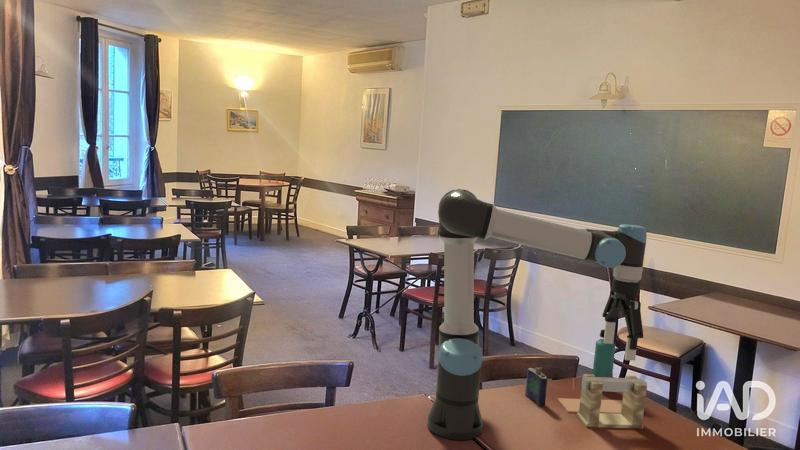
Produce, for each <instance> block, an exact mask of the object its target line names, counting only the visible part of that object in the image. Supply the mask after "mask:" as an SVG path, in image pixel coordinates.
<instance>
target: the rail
mask: <svg viewBox="0 0 800 450" xmlns="http://www.w3.org/2000/svg"><path fill="white" fill-rule="evenodd" d="M591 382H602V383H603V390H602V392H611V393H613V392H614V393H623V392H633V391H634V383H645V384H646V385H647V386H648V382H646V380H644V378H638V379H636V378H625V377H612V378H607V377H583V376H582V378H581V389H582V388H583V389H584V390H585V391H590V385H591Z"/></svg>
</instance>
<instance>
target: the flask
mask: <svg viewBox="0 0 800 450" xmlns="http://www.w3.org/2000/svg"><path fill="white" fill-rule="evenodd" d="M541 369H543V367H535V368H532V367H529V368H527V374H526V385H525V392H524V395H525V396H526V398H528V399H530V401H533V402H534V403H535V404H536V405H538V406H539V407H546V400H547V399H546V398H547V388H548V387H547V386H548V377H547V376H546V375H545V374H544V373H543V371H542V370H541Z"/></svg>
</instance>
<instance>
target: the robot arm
mask: <svg viewBox="0 0 800 450" xmlns="http://www.w3.org/2000/svg"><path fill="white" fill-rule="evenodd" d="M437 213H438V237H439V238H440V239H441V241H443V245H444V250H443V251H444V256H443V257H444V258H443V259H444V260H443V261H444V262H443V263H444V265H443V267H444V268H443V269H444V270H443V271H444V273H443V275H444V280H443V281H444V282H443V283H444V284H443V286H444V287H443V288H444V291H443V297H444V298H443V299H444V301H443V302H444V303H443V304H444V305H443V306H444V307H443V308H444V309H443V311H444V312H443V315H444V316H443V317H444V318H443V319H444V321H443V323H441V324H440V325H439V327H438V331H439V332H438V355H437V356H438V364H437V365H438V366H437V380H436V390H435V391H436V393H435V399H434V400H433V403H432V406H431V408H430V411H429V412H428V414H427V423H426V424H427V427H428V429H429V430H430V432H432V433H433V434H435V435H436V436H438V437H441V438H444V439H449V440H453V441H467V440H473V439H476V438H477V437H479V436H480V435H481V434H482V432H483V422H484V421H483V419H482V414H481V409H480V405H479V396H480V386H481V385H480V383H481V373H482V372H481V371H482V365H483V360H484V359H483V358H484V357H483V351H482V348H481V347H480V344H479V341H480V340H479V338H480V337H479V332H480V329H479V326H478V325H477V324H476V323H475V322H474V321H475V319H474V311H475V310H474V309H475V307H474V304H475V303H474V300H475V299H474V298H475V297H474V296H475V293H474V292H475V287H474V285H475V242H476V241H477V240H478V239H482V240H487V239H489V238H493V239H498V240H501V241H504V242H505V241H506V242H510V243H514V244H517V245H522V246H526V247H531V248H535V249H539V250H543V251H546V252H551V253H556V254H559V255H565V256H567V257H572V258H577V259H581V260H584V261H588V262H591V263H596V264H599V265H600V266H601V267H605V268H609V269H610V268H611V269H612V268H613V273H612V276H613V279H612V284H611V290H610V291H609V297H608V299H607V302H606V304H605V307H604V309H603V312H602V313H601V314H602V318H604V321H605V326H604V330H605V333H604V338H603V339H604V342H603V343H605V344H613V343H614V339H615V331H616V321H617V318H618V316H619V314H620V313H621V314H622V315H623V316H624V318H625V319H624V320H625V324H626V328H627V332H628V335H626V344H625V353H624V360H625V361H634V362H635V361H636V357H637V355H636V354H637V349H638V340H639V339H643V338H644V330H643V322H642V321H643V319H642V313H641V305H642V304H641V301H635V297H636V296H639V295H640V293H641V286H642V283H641V280H642V277H643V275H642V274H643V272H644V269H643V268H644V267H643V266H644V259H645V253H646V246H647V229H646V228H645V227H644V226H641V225H639V224H637V225H636V224H628V223H627V224H625V223H624V224H623V223H622V224H619V225H618V229H617V230H601V229H589V228H576V227H572V226H568V225H563V224H559V223H555V222H550V221H547V220H543V219H538V218H535V217H531V216H527V215H522V214H518V213H515V212H510V211H506V210H501V209H498V208H497V207H496V205H495V204H493V203H490V202H486V201H483V200H480V199H478V198H477V197H476V195H475V194H474V193H472V192H471V191H469V190H468V189H464V188H463V189H461V188H458V189H452V190H449V191H447V192H446V193H445V194H444V195H443V196H442V197H441V199H440V201H439V203H438V211H437Z"/></svg>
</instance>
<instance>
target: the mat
mask: <svg viewBox="0 0 800 450" xmlns="http://www.w3.org/2000/svg"><path fill="white" fill-rule="evenodd" d="M622 400H623V399H601V407H600V413H610V414H621V408H622ZM557 401H558V402H559V403H560V404H561V406H562V407H563V408H564V410H565V411H566V413H572V414H574V413H575V414H577V413H579V407H580V398H561V397H559V398H558V397H557Z"/></svg>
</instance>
